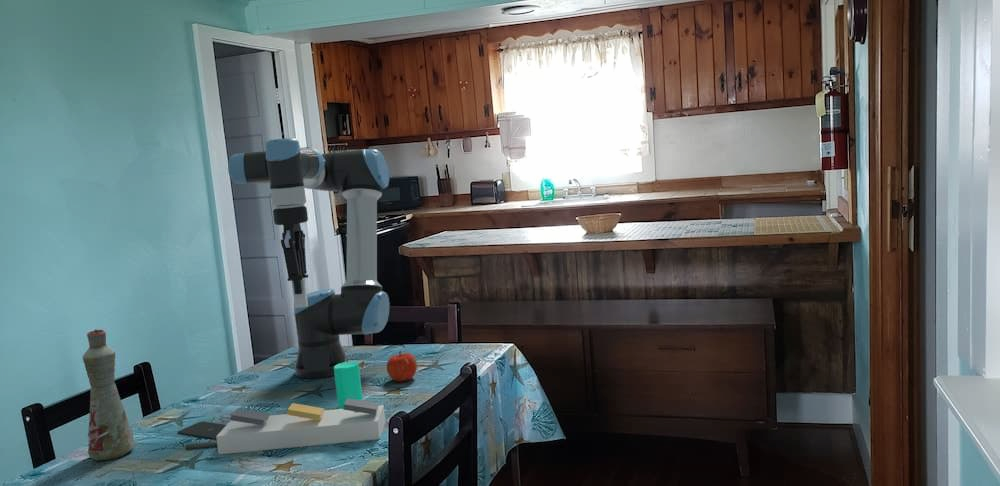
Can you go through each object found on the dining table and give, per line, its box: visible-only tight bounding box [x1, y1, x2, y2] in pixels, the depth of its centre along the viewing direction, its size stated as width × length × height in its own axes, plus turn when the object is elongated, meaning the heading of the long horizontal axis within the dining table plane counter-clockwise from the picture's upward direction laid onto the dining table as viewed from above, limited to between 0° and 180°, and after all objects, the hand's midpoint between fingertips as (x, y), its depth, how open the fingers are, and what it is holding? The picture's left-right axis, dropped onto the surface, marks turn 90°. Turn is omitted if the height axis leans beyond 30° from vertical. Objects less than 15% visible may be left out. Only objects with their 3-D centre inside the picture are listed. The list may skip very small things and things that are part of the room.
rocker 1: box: [230, 408, 270, 425], centre depth 154 cm, size 4×7×1 cm, turn 92°
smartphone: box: [176, 420, 227, 441], centre depth 165 cm, size 7×1×15 cm
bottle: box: [82, 328, 136, 461], centre depth 154 cm, size 9×9×28 cm
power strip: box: [184, 404, 386, 455], centre depth 156 cm, size 10×43×4 cm, turn 92°
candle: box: [333, 359, 364, 409], centre depth 174 cm, size 6×6×12 cm
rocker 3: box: [343, 398, 380, 415], centre depth 155 cm, size 4×7×1 cm, turn 92°
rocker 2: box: [286, 402, 325, 420], centre depth 154 cm, size 4×7×1 cm, turn 92°
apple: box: [386, 350, 418, 383], centre depth 192 cm, size 8×8×8 cm
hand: (301, 306), depth 167 cm, fingers closed
